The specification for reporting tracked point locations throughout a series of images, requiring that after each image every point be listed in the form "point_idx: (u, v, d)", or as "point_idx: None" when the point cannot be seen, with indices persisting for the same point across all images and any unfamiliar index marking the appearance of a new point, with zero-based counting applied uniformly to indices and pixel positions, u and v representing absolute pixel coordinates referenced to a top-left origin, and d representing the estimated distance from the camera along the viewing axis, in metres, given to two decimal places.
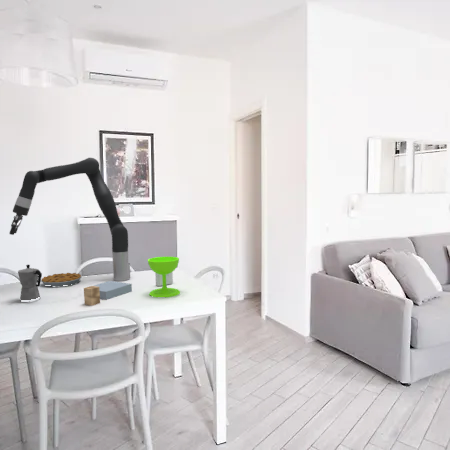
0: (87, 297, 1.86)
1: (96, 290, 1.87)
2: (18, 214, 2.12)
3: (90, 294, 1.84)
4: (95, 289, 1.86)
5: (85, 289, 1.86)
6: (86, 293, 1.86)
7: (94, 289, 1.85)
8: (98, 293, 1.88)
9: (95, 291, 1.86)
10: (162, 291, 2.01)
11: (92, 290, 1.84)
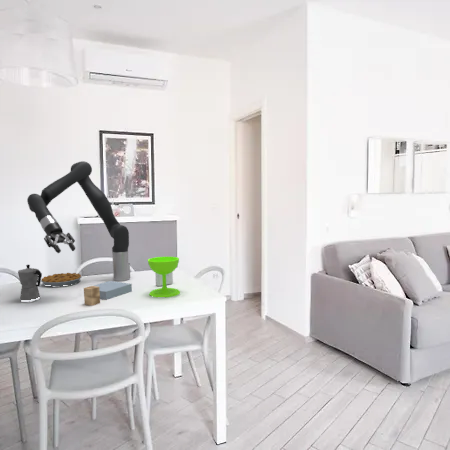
0: (87, 297, 1.86)
1: (96, 290, 1.87)
2: (49, 234, 1.93)
3: (90, 294, 1.84)
4: (95, 289, 1.86)
5: (85, 289, 1.86)
6: (86, 293, 1.86)
7: (94, 289, 1.85)
8: (98, 293, 1.88)
9: (95, 291, 1.86)
10: (162, 291, 2.01)
11: (92, 290, 1.84)
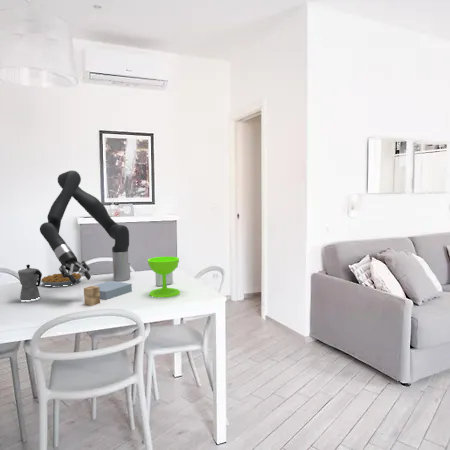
0: (87, 297, 1.86)
1: (96, 290, 1.87)
2: (64, 264, 1.90)
3: (90, 294, 1.84)
4: (95, 289, 1.86)
5: (85, 289, 1.86)
6: (86, 293, 1.86)
7: (94, 289, 1.85)
8: (98, 293, 1.88)
9: (95, 291, 1.86)
10: (162, 291, 2.01)
11: (92, 290, 1.84)
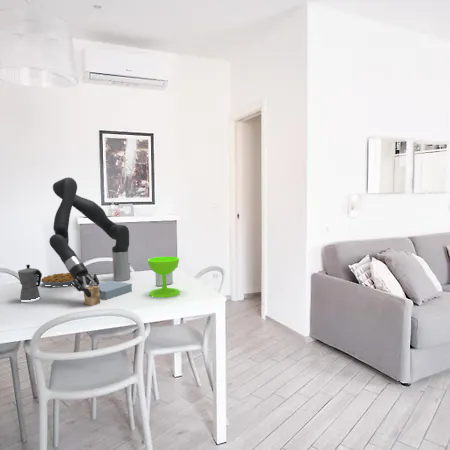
0: (87, 296, 1.85)
1: (96, 290, 1.87)
2: (75, 277, 1.87)
3: None
4: (95, 289, 1.86)
5: None
6: None
7: (94, 289, 1.85)
8: (98, 293, 1.88)
9: (95, 291, 1.86)
10: (162, 291, 2.01)
11: (92, 290, 1.84)
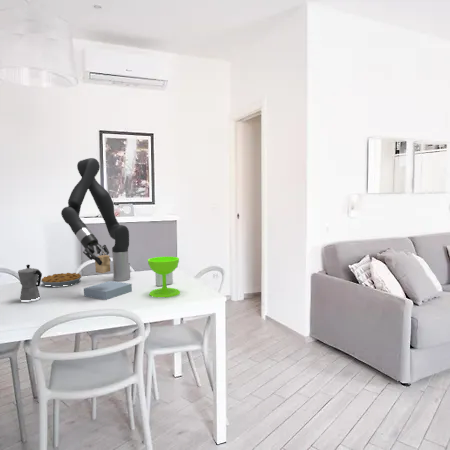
0: (98, 265, 1.96)
1: (106, 258, 1.97)
2: (86, 246, 1.97)
3: None
4: (106, 257, 1.97)
5: None
6: None
7: (105, 257, 1.96)
8: (108, 261, 1.98)
9: (106, 259, 1.97)
10: (162, 291, 2.01)
11: (103, 258, 1.95)
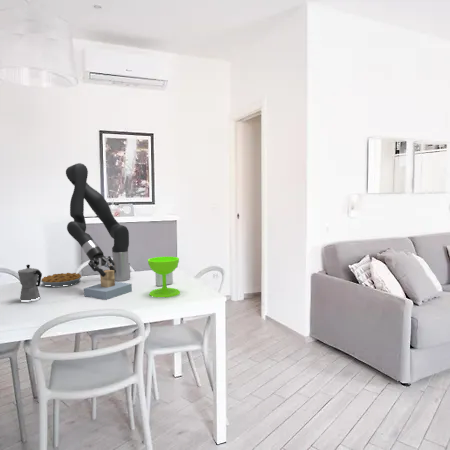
0: (103, 279, 2.03)
1: (111, 273, 2.04)
2: (92, 258, 2.04)
3: (106, 277, 2.02)
4: (110, 272, 2.04)
5: None
6: None
7: (109, 272, 2.03)
8: (113, 276, 2.06)
9: (110, 274, 2.04)
10: (162, 291, 2.01)
11: (108, 273, 2.02)
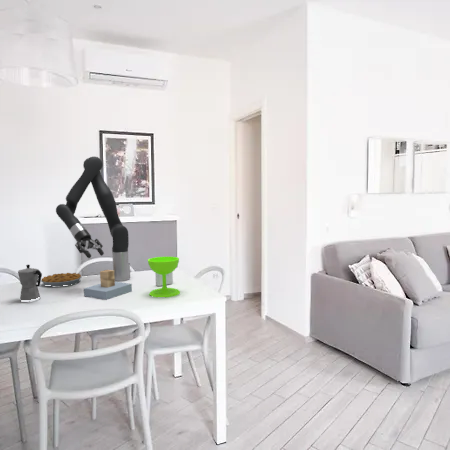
0: (103, 279, 2.03)
1: (111, 273, 2.04)
2: (79, 241, 2.08)
3: (106, 277, 2.02)
4: (110, 272, 2.04)
5: (101, 272, 2.03)
6: (102, 276, 2.03)
7: (109, 272, 2.03)
8: (113, 276, 2.06)
9: (110, 274, 2.04)
10: (162, 291, 2.01)
11: (108, 273, 2.02)
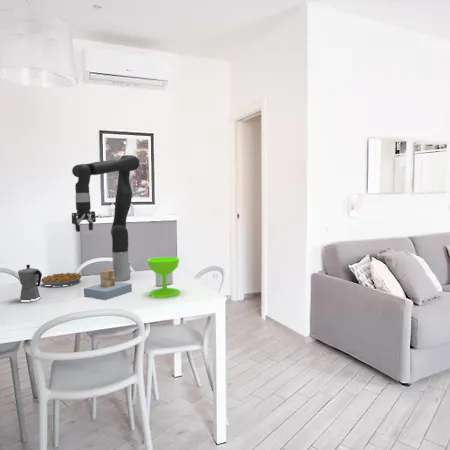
0: (103, 279, 2.03)
1: (111, 273, 2.04)
2: (77, 210, 2.11)
3: (106, 277, 2.02)
4: (110, 272, 2.04)
5: (101, 272, 2.03)
6: (102, 276, 2.03)
7: (109, 272, 2.03)
8: (113, 276, 2.06)
9: (110, 274, 2.04)
10: (162, 291, 2.01)
11: (108, 273, 2.02)
